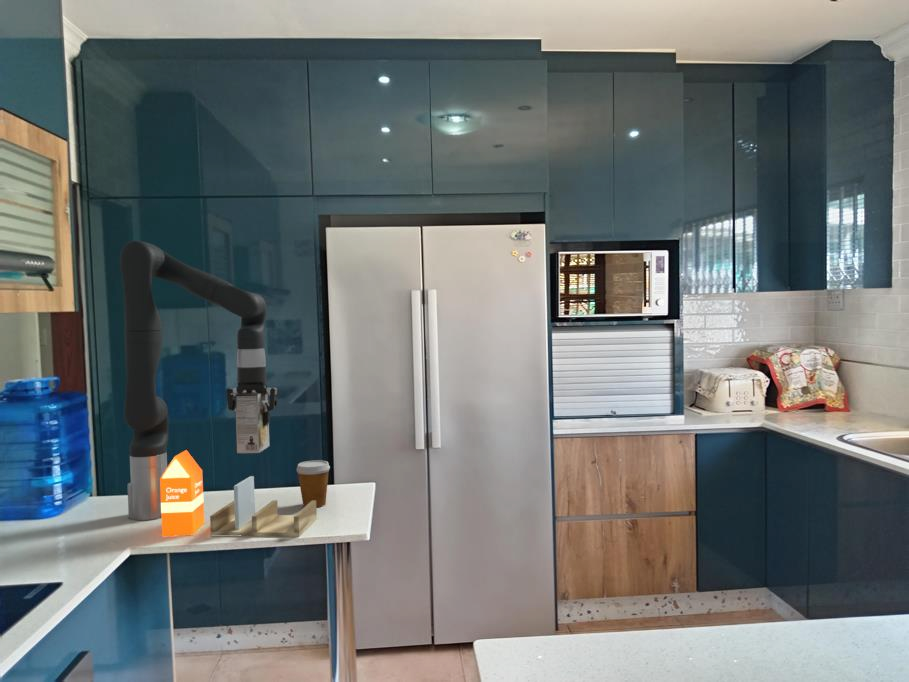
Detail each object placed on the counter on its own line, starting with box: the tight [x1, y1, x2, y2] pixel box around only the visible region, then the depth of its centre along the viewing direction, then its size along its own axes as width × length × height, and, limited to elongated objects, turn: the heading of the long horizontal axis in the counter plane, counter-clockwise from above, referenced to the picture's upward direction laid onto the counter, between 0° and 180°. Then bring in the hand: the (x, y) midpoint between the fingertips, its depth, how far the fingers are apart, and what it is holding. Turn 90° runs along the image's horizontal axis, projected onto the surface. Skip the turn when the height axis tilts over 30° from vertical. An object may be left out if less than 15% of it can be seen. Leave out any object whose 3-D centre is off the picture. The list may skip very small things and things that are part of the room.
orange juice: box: [160, 449, 205, 537], centre depth 165 cm, size 8×9×20 cm
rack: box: [209, 499, 318, 538], centre depth 166 cm, size 23×14×5 cm, turn 85°
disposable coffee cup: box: [295, 459, 331, 508], centre depth 185 cm, size 10×10×12 cm
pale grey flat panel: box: [233, 475, 256, 530], centre depth 166 cm, size 1×10×11 cm, turn 174°
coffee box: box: [235, 392, 271, 454], centre depth 178 cm, size 9×6×16 cm
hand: (253, 425), depth 178 cm, fingers closed on coffee box, 6 cm apart
